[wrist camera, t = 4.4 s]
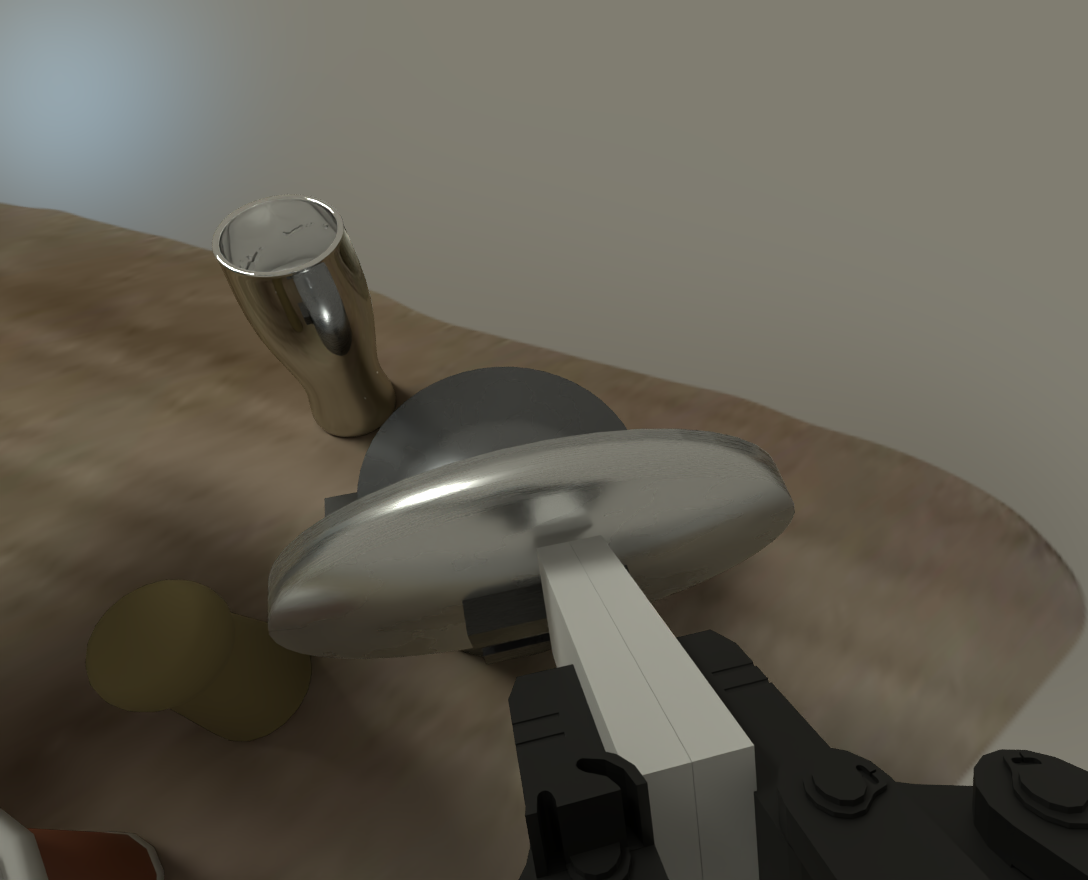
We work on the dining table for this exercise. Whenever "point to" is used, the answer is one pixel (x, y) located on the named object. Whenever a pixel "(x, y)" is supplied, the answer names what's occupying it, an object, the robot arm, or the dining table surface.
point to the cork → (195, 661)
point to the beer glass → (309, 305)
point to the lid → (519, 539)
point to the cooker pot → (478, 438)
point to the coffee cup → (74, 854)
